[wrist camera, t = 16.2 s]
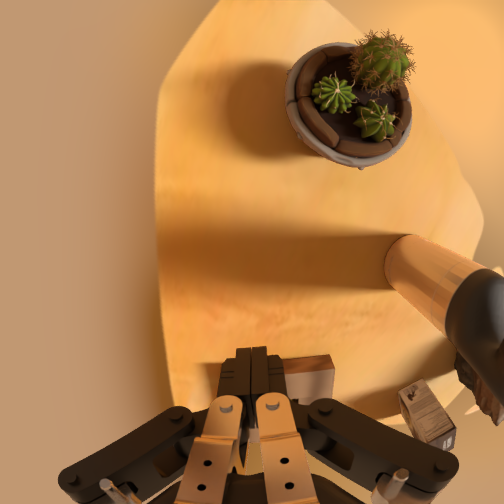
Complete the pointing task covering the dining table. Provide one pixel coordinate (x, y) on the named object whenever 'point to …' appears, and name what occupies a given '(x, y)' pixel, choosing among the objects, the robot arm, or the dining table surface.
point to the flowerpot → (351, 100)
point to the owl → (479, 390)
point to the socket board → (305, 382)
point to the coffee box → (426, 416)
